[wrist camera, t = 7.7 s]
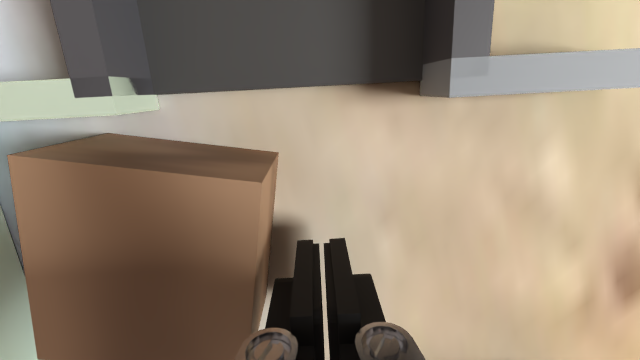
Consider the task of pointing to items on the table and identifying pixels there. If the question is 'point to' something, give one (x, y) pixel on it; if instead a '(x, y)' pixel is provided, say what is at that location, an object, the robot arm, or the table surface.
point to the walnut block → (144, 246)
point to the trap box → (271, 70)
